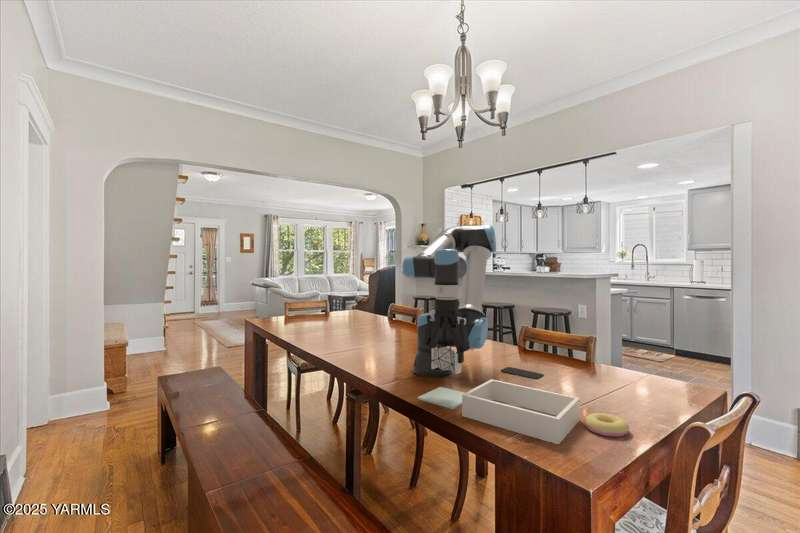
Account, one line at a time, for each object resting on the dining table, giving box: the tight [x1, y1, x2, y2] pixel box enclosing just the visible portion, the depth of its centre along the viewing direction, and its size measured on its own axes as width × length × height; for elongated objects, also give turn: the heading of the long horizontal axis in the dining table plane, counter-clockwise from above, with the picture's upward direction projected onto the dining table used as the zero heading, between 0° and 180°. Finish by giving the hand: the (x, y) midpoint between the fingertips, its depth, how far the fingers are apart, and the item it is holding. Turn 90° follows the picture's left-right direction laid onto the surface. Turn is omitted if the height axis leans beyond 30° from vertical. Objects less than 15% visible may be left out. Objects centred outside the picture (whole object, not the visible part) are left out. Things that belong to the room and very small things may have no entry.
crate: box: [461, 378, 581, 445], centre depth 104 cm, size 26×18×6 cm
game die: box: [431, 345, 456, 373], centre depth 119 cm, size 9×8×10 cm
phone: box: [500, 366, 545, 380], centre depth 146 cm, size 7×1×15 cm
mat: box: [417, 386, 465, 410], centre depth 120 cm, size 13×13×1 cm
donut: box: [584, 412, 630, 438], centre depth 97 cm, size 10×5×9 cm
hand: (446, 370), depth 119 cm, fingers closed on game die, 8 cm apart
